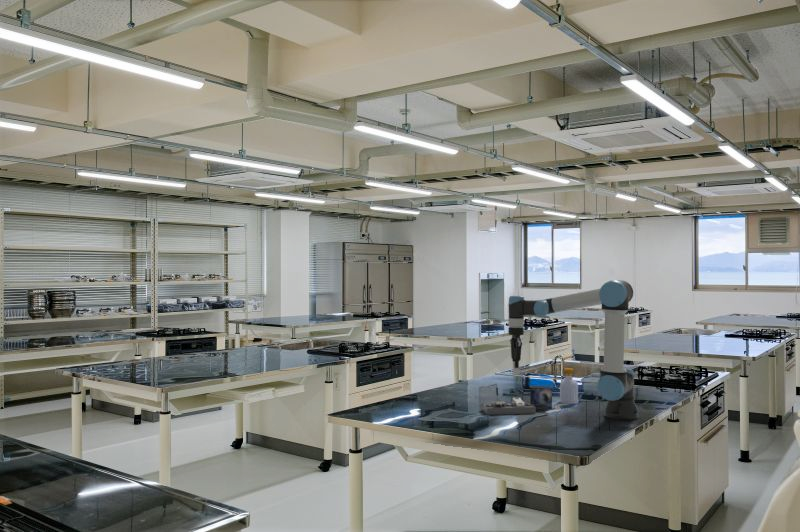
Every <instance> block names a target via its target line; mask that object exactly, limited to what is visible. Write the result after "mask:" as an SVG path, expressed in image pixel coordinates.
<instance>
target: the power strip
mask: <svg viewBox="0 0 800 532" xmlns="http://www.w3.org/2000/svg"><path fill="white" fill-rule="evenodd" d="M522 401H523V403H524V404H525V406H524V407H517V406H516V403H515V402H514V401H513V400H511V402H510V403H509V402H507V403H506V402H505V401H504V404H495V403H494V402H493V401H491V403H482V409H481V410H482V411H483V412H484V413H485V414H486V415H488V414H492V415H517V414H520V415H522V414H523V415H525V414H537V410H549V408H548V407H537V408H536V407H535V406H533V405H532V404H530V402H525V401H524V400H522Z"/></svg>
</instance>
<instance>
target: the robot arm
mask: <svg viewBox="0 0 800 532" xmlns="http://www.w3.org/2000/svg"><path fill="white" fill-rule="evenodd" d="M633 297H634V289H633V287H632V285H631V284H630V283H629V282H628V281H625V280H623V279H622V280H621V279H619V280H617V279H614V280H612V279H611V280H609V281H607V282H605V283H604V284H603V285H601V287H600V288H596V289H591V290H587V291H586V290H585V291H580V292H576V293H570V294H566V295H559V296H555V297H550V298H546V299H537V300H533V299H532V300H528V299H525V297H524V296H523V295H510V296H509V298H508V325H507V326H509V327H508V335H509V336H511V338H510V339H509V343H510V354H511V355H510V357H511V360H512V375H520V361H521V356H522V347H523V342H522V339H521V336H524V334H525V328H524V326H525V324H524V323H525V321H526V320H525V316H529V317H530V316H533V317H546V316H547V315H551V314H555V313H561V312H566V311H571V310H577V309H583V308H588V307H589V308H590V307H594V306H601V311H602V312H603V313H604V329H603V330H604V332H603V333H604V334H603V335H604V336H603V338H604V341H603V366H601V367H600V370H599V374H600V377H599V379H598V381H597V383H596V389H597V392H598V394H599V395H600V396H601V397H602V398H603V399H604V400H607V401H606V405H605V408H604V410H603V411H604V415H603V416H604V417H606V418H608V419H611V418H613V419H612V420H617V419H634V420H637V419H639V412H638V409H637V408H638V407H637V405H636V403H635V375H634V370H633V369H631V368H625V366H624V365H625V364H624V362H625V361H624V359H625V358H624V356H625V355H624V354H625V324H626V323H625V317H626V316H625V315H626V313H628V311H629V303H630V302H631V301H632V299H633ZM636 418H637V419H636Z"/></svg>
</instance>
